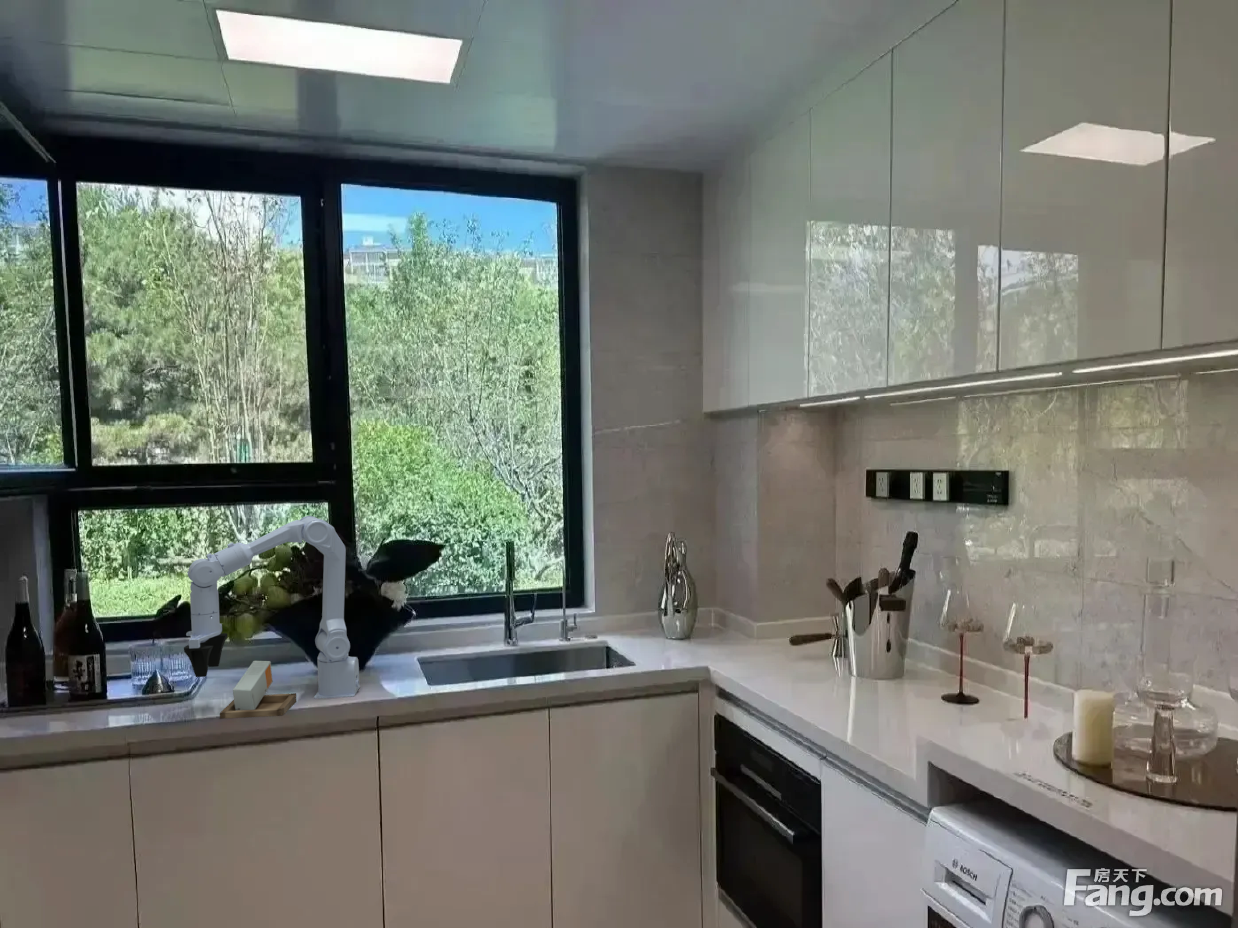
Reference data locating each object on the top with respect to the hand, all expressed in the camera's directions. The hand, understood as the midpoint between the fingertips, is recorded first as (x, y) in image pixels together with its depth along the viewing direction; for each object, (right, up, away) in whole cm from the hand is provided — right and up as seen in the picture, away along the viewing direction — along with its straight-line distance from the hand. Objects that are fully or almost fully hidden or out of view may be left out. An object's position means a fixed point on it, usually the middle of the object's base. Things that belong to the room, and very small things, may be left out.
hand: (207, 671), depth 186 cm
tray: (+11, -10, +2) cm, 15 cm away
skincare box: (+8, -3, +11) cm, 14 cm away
